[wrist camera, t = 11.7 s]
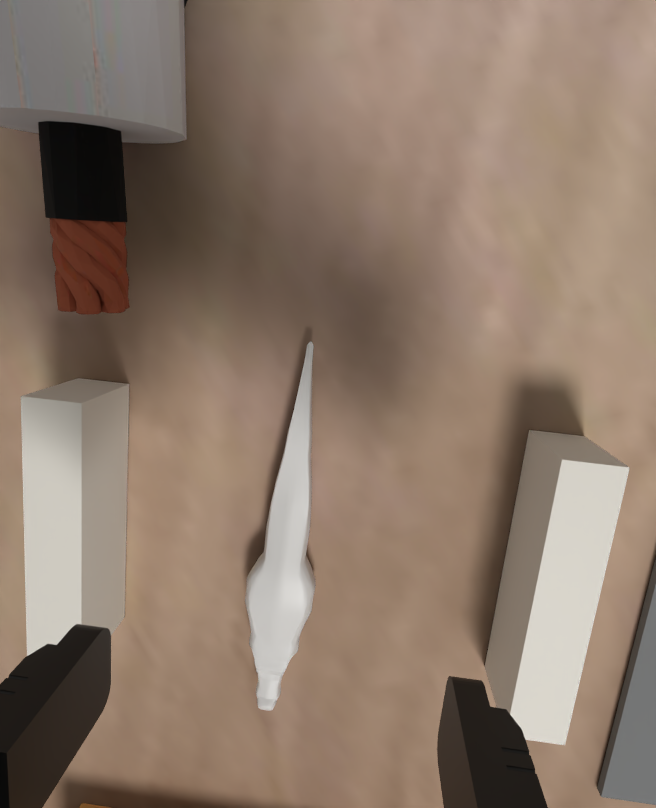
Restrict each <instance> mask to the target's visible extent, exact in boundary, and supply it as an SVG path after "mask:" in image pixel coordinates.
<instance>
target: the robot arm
mask: <svg viewBox="0 0 656 808" xmlns="http://www.w3.org/2000/svg"><path fill="white" fill-rule="evenodd" d="M110 685H111V633H110V630H109V629H108V628H104V627H96V626H89V625H82V624H76V625H74V626H73V627H72V628H71V629H70V630H69V631H68V633H67V634H66V635H65V636H64V637H63V638H62V639H61V641H60V642H59V643H58V644H57V645H54V644H46V645H45V646H43V647H41V648H40V649H38V650H36V651H35V652H33V653H32V654H30V655H28V656H27V657H25V658H24V659H23V660H22V661H21V663H20V664H19V665H18V666H17V667H16V668H15V669H14V670H13V671H12V672H11V673H10V674H9V677H8V678H6V679H5V680H4V681H3V682H2V683H1V684H0V808H42V807H43V806H44V804H45V802H46V801H47V799H48V798H49V796H50V794H51V793H52V791H53V790H54V788H55V786H56V785H57V783H58V782H59V780H60V778H61V777H62V775H63V774H64V772H65V771H66V769H67V767H68V766H69V764H70V763H71V761H72V759H73V758H74V756H75V755H76V753H77V751H78V750H79V748H80V747H81V745H82V743H83V742H84V740H85V739H86V737H87V736H88V734H89V732H90V731H91V729H92V728H93V726H94V724H95V723H96V721H97V720H98V718H99V716H100V715H101V713H102V711H103V709H104V707H105V705H106V702H107V699H108V696H109V691H110ZM437 751H438V767H439V774H440V781H441V789H442V796H443V804H444V808H548V807H547V804H546V801H545V798H544V795H543V792H542V789H541V786H540V783H539V780H538V777H537V774H535V768H534V765H533V762H532V759H531V756H530V755H529V750H528V747H527V744H526V740H525V737H524V734H523V731H522V729H521V728H520V726H519V725H518V724H517V722H516V721H515V720H514V719H513V717H512V716H511V715H510V714H509V712H508V711H507V710H506V709H501V708H494V707H490V705H489V701H488V697H487V694H486V690H485V686H484V684H483V682H482V681H481V680H473V679H466V678H459V677H451V676H449V678H448V680H447V684H446V690H445V696H444V702H443V708H442V714H441V720H440V726H439V732H438V748H437Z"/></svg>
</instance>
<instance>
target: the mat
mask: <svg viewBox="0 0 656 808" xmlns="http://www.w3.org/2000/svg"><path fill="white" fill-rule="evenodd" d="M597 789H598V791H599V793H600V796H601V797H606V798H612V799H619V800H626V801H633V802H639V803H646V804H653V805H656V559H655V562H654V566H653V570H652V574H651V578H650V582H649V586H648V590H647V594H646V598H645V602H644V606H643V610H642V614H641V618H640V621H639V625H638V629H637V633H636V637H635V641H634V645H633V649H632V653H631V657H630V661H629V665H628V669H627V673H626V677H625V680H624V684H623V688H622V692H621V696H620V700H619V704H618V708H617V712H616V716H615V720H614V724H613V728H612V732H611V736H610V739H609V743H608V747H607V751H606V755H605V759H604V763H603V767H602V771H601V775H600V779H599V783H598V787H597Z"/></svg>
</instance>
